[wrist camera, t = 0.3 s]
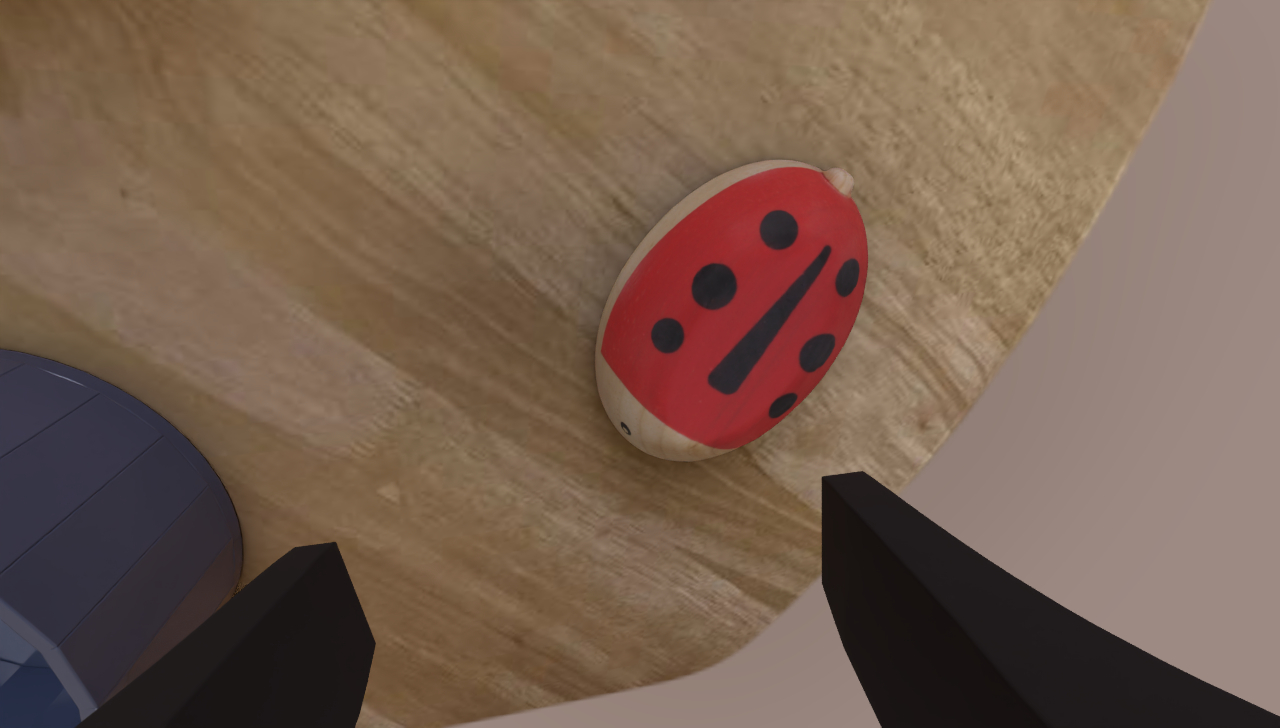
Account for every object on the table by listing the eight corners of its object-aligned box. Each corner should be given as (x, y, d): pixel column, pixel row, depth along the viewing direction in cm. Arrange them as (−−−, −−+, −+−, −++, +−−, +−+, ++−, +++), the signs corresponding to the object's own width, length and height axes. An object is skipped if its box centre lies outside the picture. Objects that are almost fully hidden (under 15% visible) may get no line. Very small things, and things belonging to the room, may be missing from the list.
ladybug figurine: (548, 385, 21) (539, 444, 17) (720, 92, 17) (748, 97, 14) (724, 470, 22) (746, 538, 19) (910, 218, 19) (975, 249, 16)
